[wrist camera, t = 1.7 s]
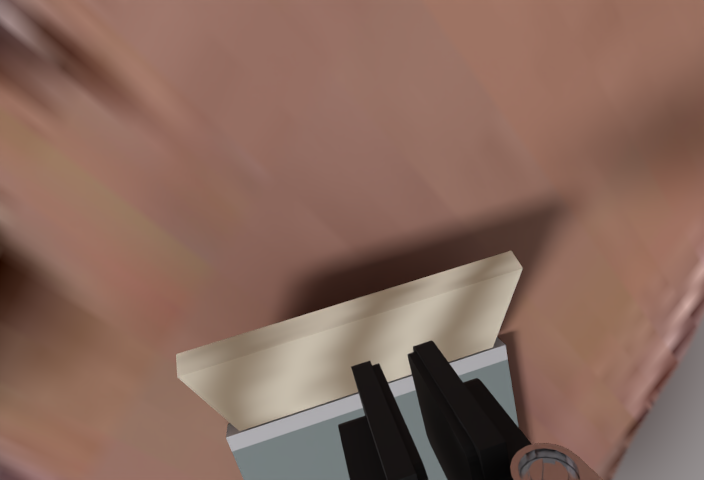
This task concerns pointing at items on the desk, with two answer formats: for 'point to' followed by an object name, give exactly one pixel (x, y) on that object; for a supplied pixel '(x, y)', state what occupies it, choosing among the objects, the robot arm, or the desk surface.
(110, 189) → the desk surface
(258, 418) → the plank
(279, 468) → the grey rectangular panel
